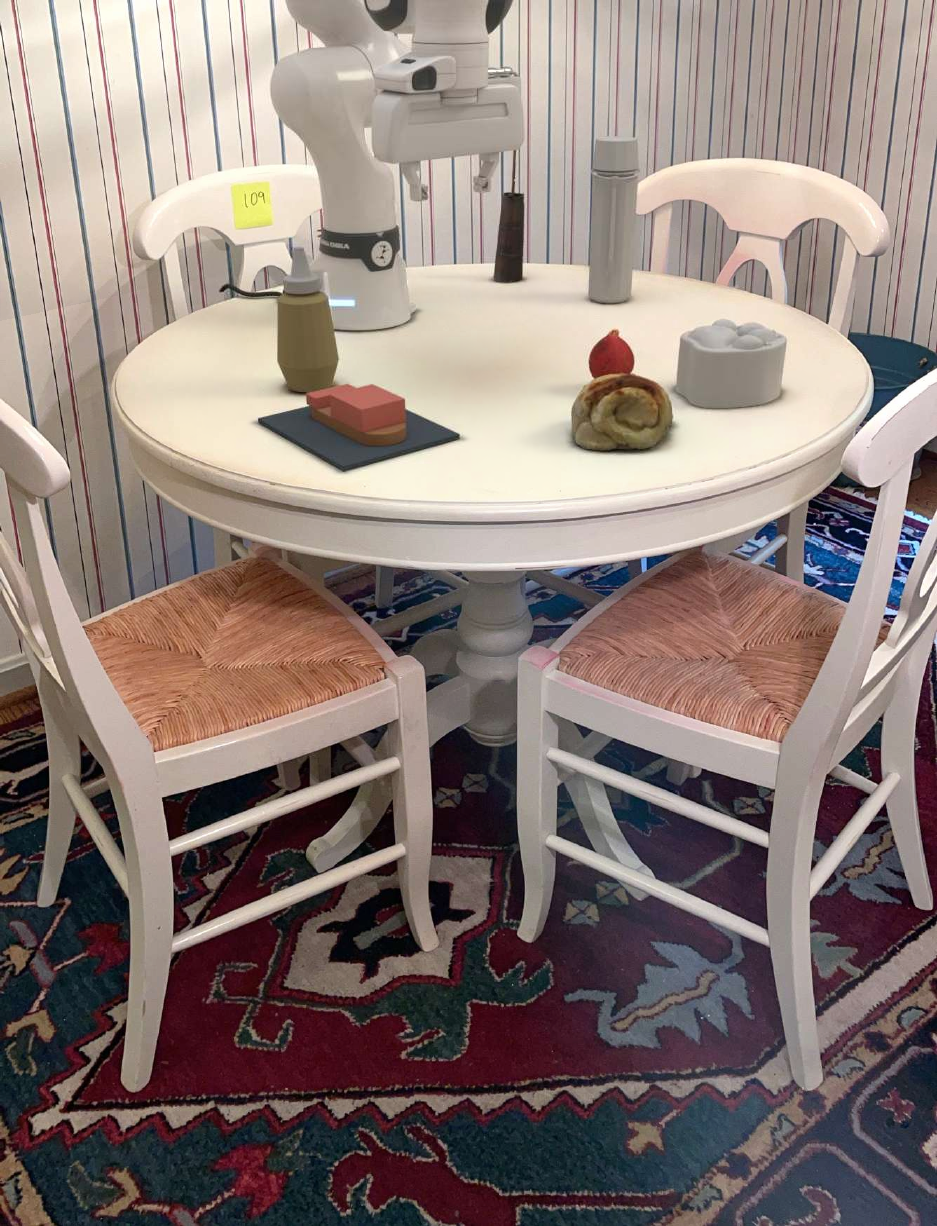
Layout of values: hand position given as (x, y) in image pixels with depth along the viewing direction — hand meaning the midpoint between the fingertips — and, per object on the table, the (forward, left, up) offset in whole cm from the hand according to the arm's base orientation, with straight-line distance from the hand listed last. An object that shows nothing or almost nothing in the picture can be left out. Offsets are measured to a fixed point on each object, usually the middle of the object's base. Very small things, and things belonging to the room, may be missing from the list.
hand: (451, 196), depth 135 cm
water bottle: (-20, +47, -24) cm, 57 cm away
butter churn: (-42, +43, -24) cm, 65 cm away
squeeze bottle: (-12, -15, -24) cm, 31 cm away
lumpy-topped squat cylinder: (+25, +26, -24) cm, 43 cm away
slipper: (+6, -19, -23) cm, 30 cm away
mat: (+6, -19, -24) cm, 31 cm away
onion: (+14, +15, -24) cm, 32 cm away
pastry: (+27, +5, -24) cm, 36 cm away
